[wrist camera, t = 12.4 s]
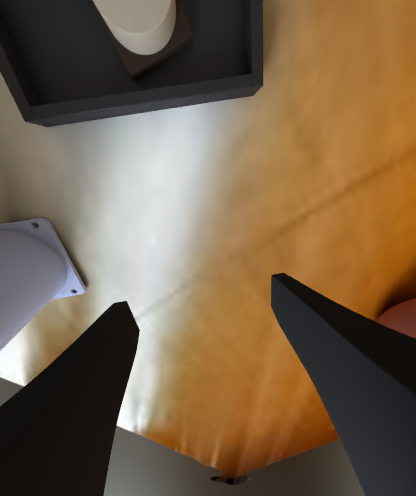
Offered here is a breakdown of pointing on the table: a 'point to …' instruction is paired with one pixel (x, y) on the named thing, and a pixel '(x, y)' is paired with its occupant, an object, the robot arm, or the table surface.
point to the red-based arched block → (145, 31)
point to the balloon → (401, 318)
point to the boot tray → (112, 67)
